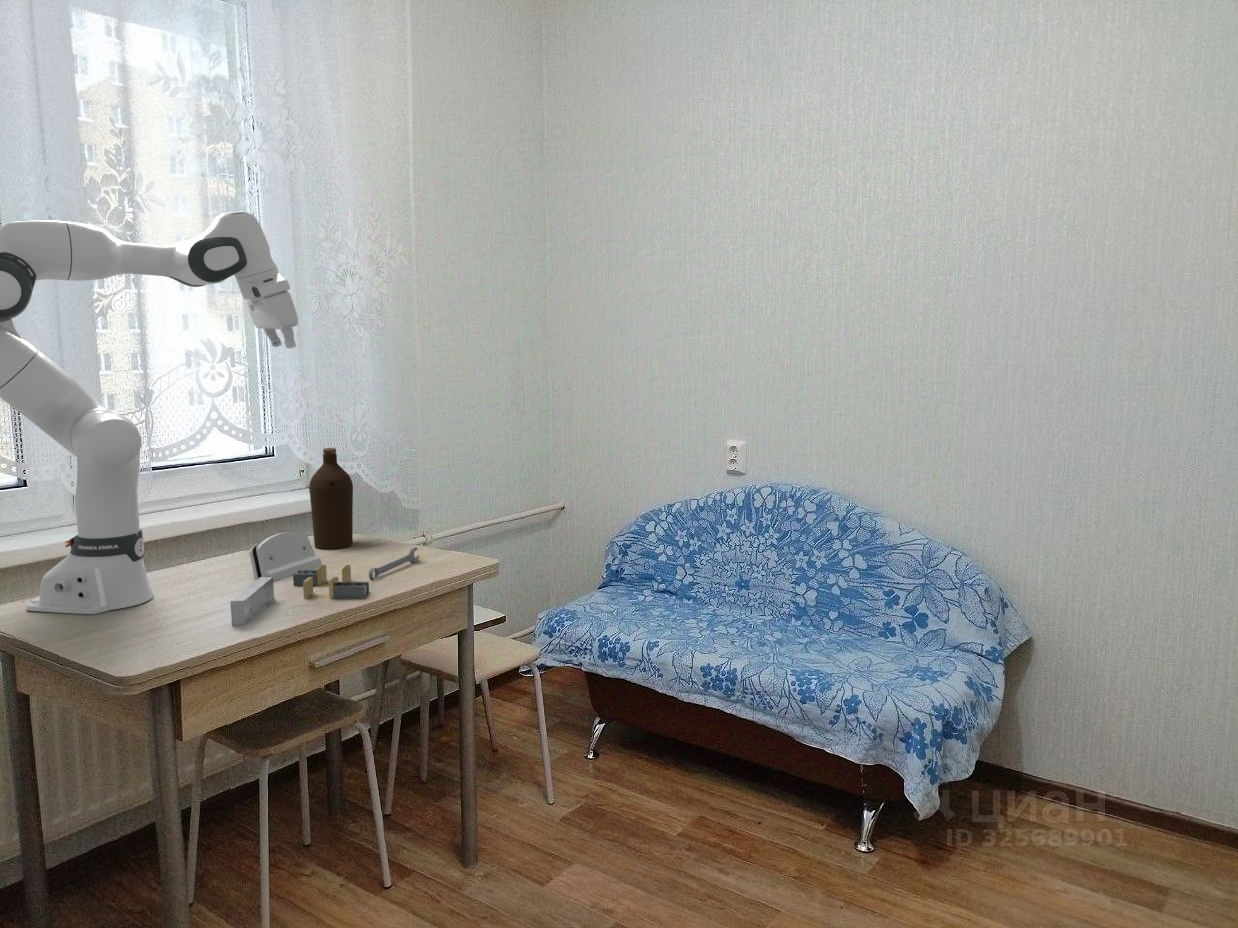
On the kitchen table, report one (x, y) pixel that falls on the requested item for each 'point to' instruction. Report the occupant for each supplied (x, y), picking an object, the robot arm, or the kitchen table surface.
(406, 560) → the combination wrench
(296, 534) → the hinge
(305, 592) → the ball bearing track
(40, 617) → the kitchen table surface
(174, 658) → the kitchen table surface
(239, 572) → the kitchen table surface
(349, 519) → the olive oil
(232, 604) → the long grey beam
